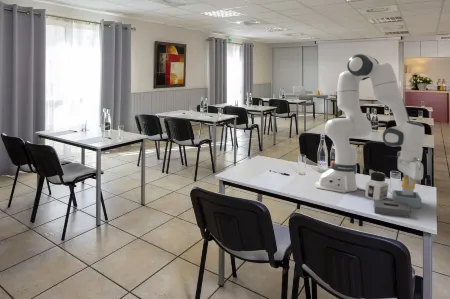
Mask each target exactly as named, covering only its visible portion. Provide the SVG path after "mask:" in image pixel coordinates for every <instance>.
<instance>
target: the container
mask: <svg viewBox="0 0 450 299" xmlns="http://www.w3.org/2000/svg"><path fill="white" fill-rule="evenodd" d="M388 192H389V183H387V182H386V174H385V173H383V172H380V171H374V172H373V171H372V172H371V173H370V181H368V182H366V184H365V194H364V195H365V198H369V199H372V200H383V201H384V200H385V199H387V198H388Z"/></svg>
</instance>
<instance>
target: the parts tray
mask: <svg viewBox="0 0 450 299" xmlns="http://www.w3.org/2000/svg"><path fill="white" fill-rule="evenodd" d="M391 199H392V200H391V201H392V202H401V203H407V205H408V207H409V208H411V209H412V208H414V209H421V208H422V200H423V199H422V198H421V196H420V194H419V193H418V192H417V191H413V195H403V194H402V190H399V189H398V190H397V189H392V195H391Z"/></svg>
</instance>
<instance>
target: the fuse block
mask: <svg viewBox="0 0 450 299" xmlns="http://www.w3.org/2000/svg"><path fill="white" fill-rule="evenodd" d="M372 204H373V205H372V208H373V211H374V214H382V215H389V216H396V217H397V216H398V217H404V218H410V216H411V215H410V214H411V209H410V207H408V205H407V203H401V202H393V200H391V201H390V200H384V199H383V200H375V199H373V203H372Z"/></svg>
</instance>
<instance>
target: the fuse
mask: <svg viewBox="0 0 450 299" xmlns="http://www.w3.org/2000/svg"><path fill="white" fill-rule="evenodd" d="M401 180H402V181H401V191H402V194H403V195H413V192H414V190H415V189H416V188H415V187H416V180H414V181H413V185H412V186H410V185H408V181H409V178H408V177H404V176H403V177H402V179H401Z"/></svg>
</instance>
